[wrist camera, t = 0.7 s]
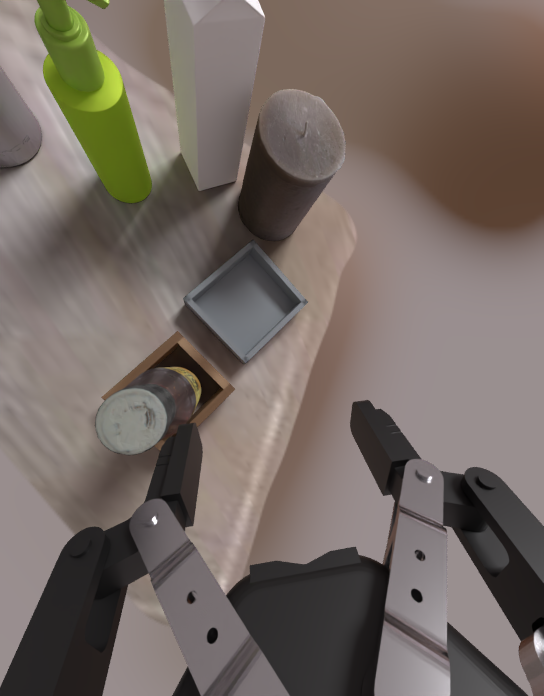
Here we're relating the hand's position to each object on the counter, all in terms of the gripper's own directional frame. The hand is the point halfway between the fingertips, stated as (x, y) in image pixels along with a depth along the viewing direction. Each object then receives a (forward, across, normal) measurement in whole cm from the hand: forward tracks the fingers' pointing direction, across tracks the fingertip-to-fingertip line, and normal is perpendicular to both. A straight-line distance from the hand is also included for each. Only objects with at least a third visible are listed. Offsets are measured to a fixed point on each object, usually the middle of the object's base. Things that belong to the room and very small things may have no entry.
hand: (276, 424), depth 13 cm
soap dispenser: (+34, +14, -13) cm, 39 cm away
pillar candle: (+35, -4, -8) cm, 36 cm away
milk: (+37, +4, -15) cm, 40 cm away
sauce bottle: (+20, +12, +11) cm, 25 cm away
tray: (+26, +1, +3) cm, 27 cm away
